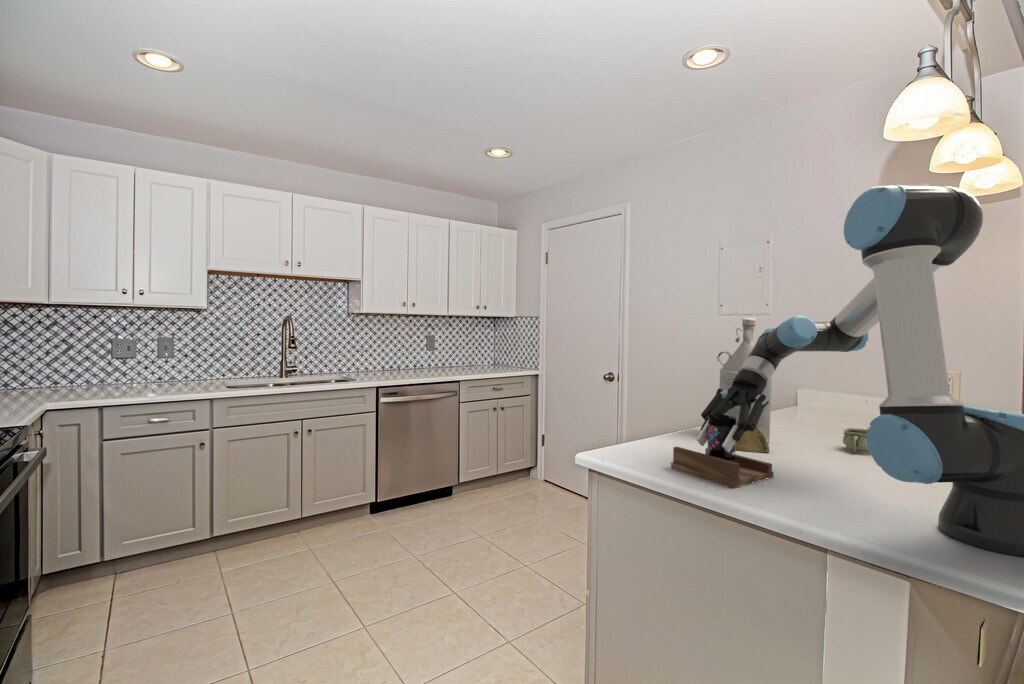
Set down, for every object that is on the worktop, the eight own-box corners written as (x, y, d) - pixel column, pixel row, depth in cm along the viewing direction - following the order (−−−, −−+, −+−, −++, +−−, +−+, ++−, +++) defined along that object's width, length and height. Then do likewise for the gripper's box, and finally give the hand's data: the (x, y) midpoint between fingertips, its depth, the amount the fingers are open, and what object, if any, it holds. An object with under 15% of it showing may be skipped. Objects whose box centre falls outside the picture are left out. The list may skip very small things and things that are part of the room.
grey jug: (725, 431, 174) (728, 317, 172) (777, 440, 160) (781, 317, 159) (706, 436, 166) (709, 317, 164) (759, 447, 152) (763, 317, 151)
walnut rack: (710, 459, 138) (711, 440, 138) (773, 477, 123) (773, 455, 123) (671, 468, 130) (671, 447, 130) (733, 488, 114) (733, 465, 114)
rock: (779, 443, 147) (749, 432, 156) (772, 423, 144) (741, 413, 152) (757, 468, 144) (728, 456, 153) (750, 448, 140) (720, 436, 149)
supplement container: (711, 452, 131) (712, 413, 131) (738, 457, 127) (739, 416, 126) (703, 458, 126) (704, 417, 125) (731, 463, 122) (732, 420, 121)
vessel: (872, 458, 141) (872, 436, 140) (836, 452, 147) (836, 431, 147) (883, 451, 148) (884, 430, 148) (848, 445, 155) (849, 425, 155)
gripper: (795, 391, 125) (755, 464, 117) (726, 382, 142) (686, 446, 134) (784, 371, 122) (742, 445, 114) (714, 364, 139) (673, 429, 131)
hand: (712, 445), depth 124 cm, fingers closed on supplement container, 7 cm apart
